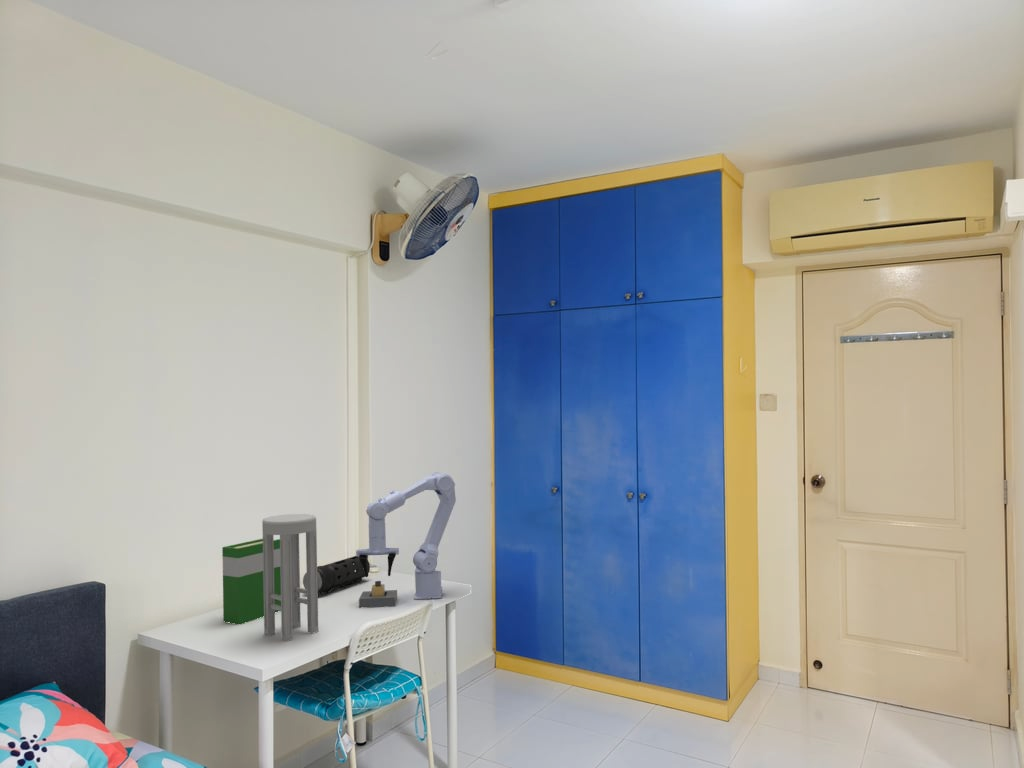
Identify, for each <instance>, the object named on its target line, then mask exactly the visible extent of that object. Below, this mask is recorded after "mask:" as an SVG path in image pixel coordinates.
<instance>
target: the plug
mask: <svg viewBox="0 0 1024 768" xmlns="http://www.w3.org/2000/svg"><path fill="white" fill-rule="evenodd" d="M385 587H386V585H385V584H384V583H383V584H382V581H381V580H376V581H375V582H374V584H372V586H371V591H372V597H377V596H385V590H386V589H385Z"/></svg>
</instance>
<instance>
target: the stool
mask: <svg viewBox="0 0 1024 768" xmlns="http://www.w3.org/2000/svg"><path fill="white" fill-rule="evenodd" d="M261 527H262V539H263V584H264V617H263V624H264V625H263V628H264V629H263V630H264V634H265V636H267V635H268V636H269V635H270V636H273V635H276V613H275V610H279V611H280V612H281V613H280V616H281V617H280V618H281V619H280V620H281V621H280V622H281V624H280V625H281V641H283V640H284V641H283V642H289V641H292V640H291V639H294V636H293V635H294V634H293V631H294V630H293V629H297V628H300V626H301V625H302V624H301V623H302V621H301V604H302V605H303V604H304V605H306V607H307V608H306V609H307V610H306V611H307V612H306V613H307V614H306V615H307V633H308V632H311V633H310V634H314V633H313V632H316V631H318V632H319V597H318V596H319V594H318V585H317V567H318V542H317V539H318V538H317V517H316V516H315V515H314V514H311V513H310V514H307V513H289V514H288V513H287V514H278V515H273V516H269V517H265V518H263V519H262V525H261ZM304 533H305V551H306V552H305V555H306V556H305V557H306V558H305V560H306V572H307V589H305V588H304V587H301V579H300V578H301V577H300V576H301V575H300V565H301V564H300V534H304ZM274 536H279V539H280V572H281V595H277V594H274V540H275V538H274ZM301 594H304V595H306V598H304V597H301ZM275 599H276V600H280V601H281V606H280V605H276V604H275ZM316 633H317V632H316ZM272 634H273V635H272ZM268 636H267V637H268ZM270 636H269V637H270ZM288 640H289V641H288Z"/></svg>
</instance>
